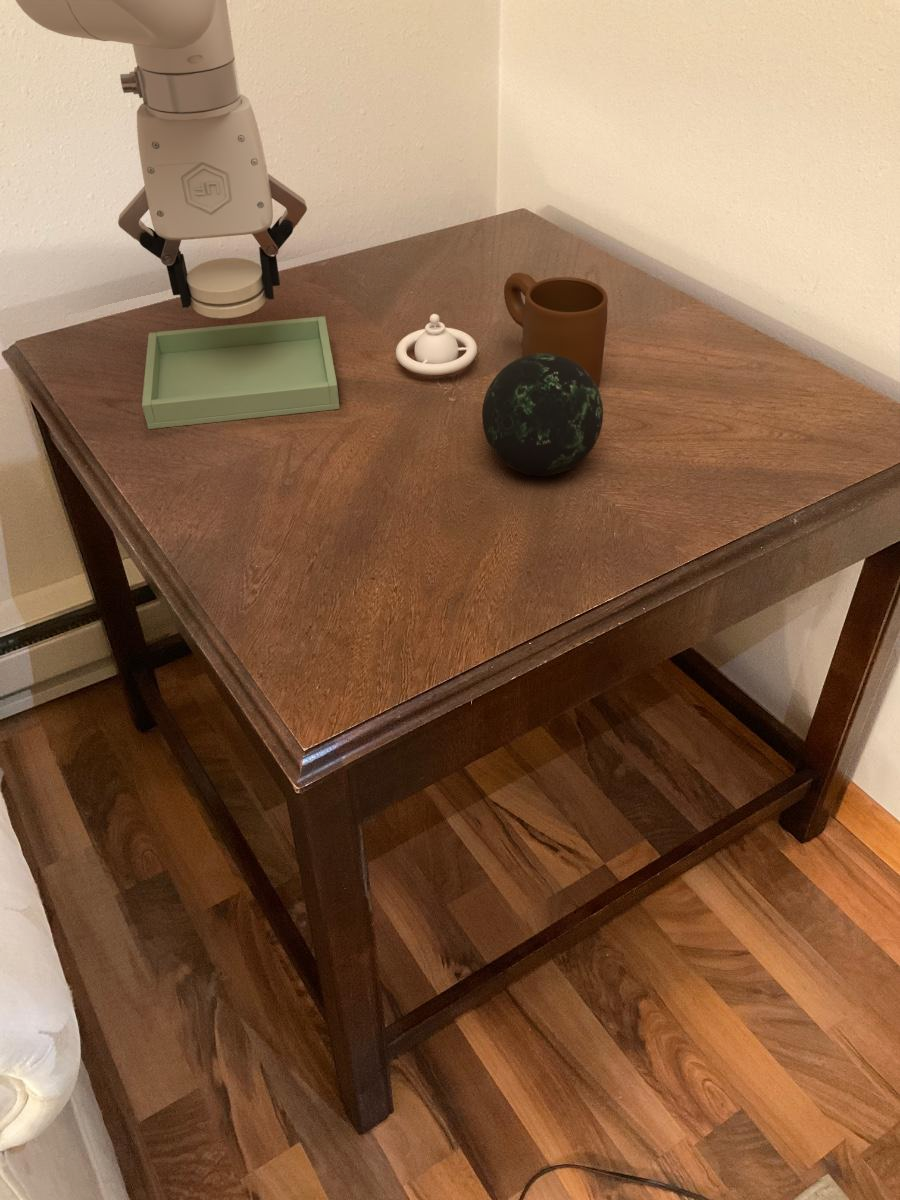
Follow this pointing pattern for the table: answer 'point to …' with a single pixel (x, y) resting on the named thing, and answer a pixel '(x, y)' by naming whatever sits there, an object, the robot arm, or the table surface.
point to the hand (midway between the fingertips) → (228, 295)
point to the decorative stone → (542, 414)
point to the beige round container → (226, 287)
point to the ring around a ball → (436, 349)
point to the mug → (560, 318)
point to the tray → (238, 372)
